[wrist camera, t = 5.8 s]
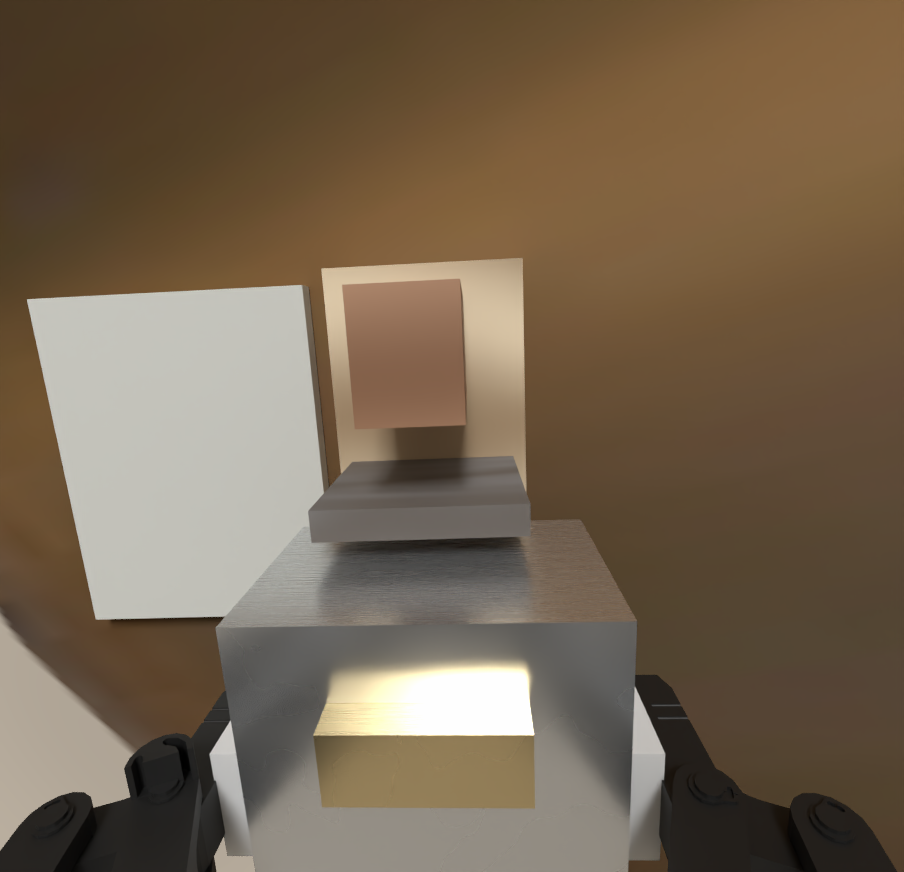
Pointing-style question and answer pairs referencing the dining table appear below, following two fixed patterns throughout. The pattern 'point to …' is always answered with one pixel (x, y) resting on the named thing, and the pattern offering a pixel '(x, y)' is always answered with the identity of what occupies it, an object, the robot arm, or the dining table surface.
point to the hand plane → (426, 402)
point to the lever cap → (435, 705)
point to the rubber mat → (183, 439)
